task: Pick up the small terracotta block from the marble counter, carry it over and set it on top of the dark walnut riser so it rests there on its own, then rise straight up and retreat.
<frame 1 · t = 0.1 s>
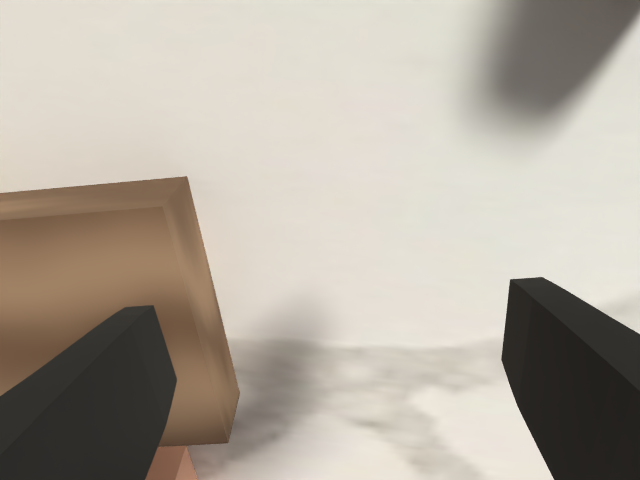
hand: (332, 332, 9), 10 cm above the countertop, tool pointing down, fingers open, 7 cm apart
walnut riser: (96, 302, 22), on the countertop
terracotta block: (158, 472, 27), on the countertop
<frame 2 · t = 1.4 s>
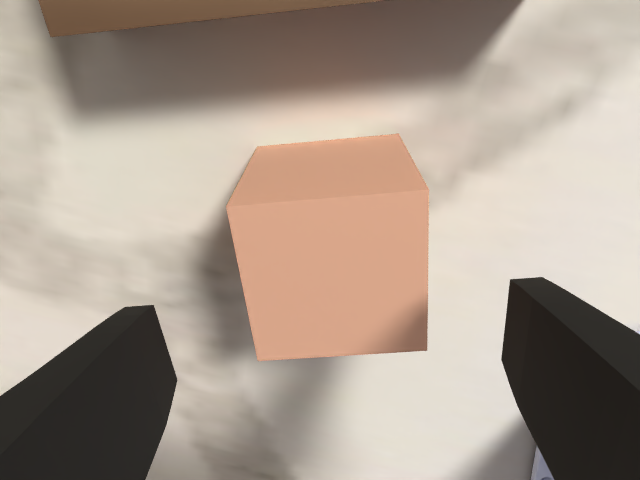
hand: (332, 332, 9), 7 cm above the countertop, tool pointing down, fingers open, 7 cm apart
terracotta block: (333, 204, 16), on the countertop
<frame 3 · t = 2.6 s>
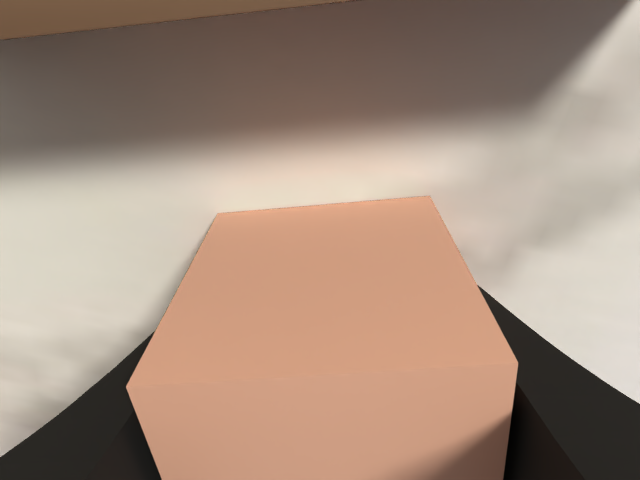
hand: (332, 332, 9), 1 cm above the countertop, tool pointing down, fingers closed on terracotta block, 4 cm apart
terracotta block: (331, 293, 11), on the countertop, touching gripper
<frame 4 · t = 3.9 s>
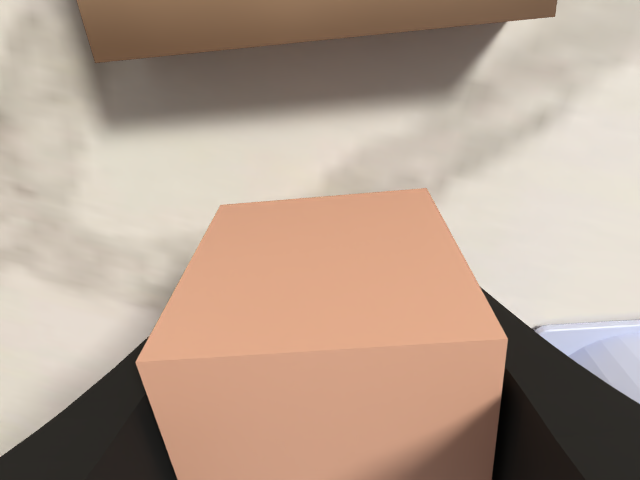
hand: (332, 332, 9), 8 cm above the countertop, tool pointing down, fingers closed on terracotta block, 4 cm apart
terracotta block: (330, 284, 11), point 7 cm above the countertop, touching gripper
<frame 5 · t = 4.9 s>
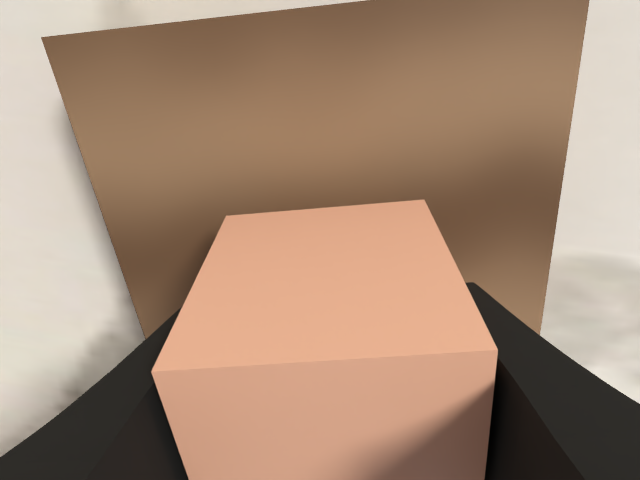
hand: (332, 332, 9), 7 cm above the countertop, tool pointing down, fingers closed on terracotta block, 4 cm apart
walnut riser: (331, 201, 16), on the countertop
terracotta block: (332, 290, 11), point 5 cm above the countertop, touching gripper
when the fingers open (6 cm above the countertop, at t = 5.4 s): terracotta block drops 1 cm, point 3 cm above the countertop.
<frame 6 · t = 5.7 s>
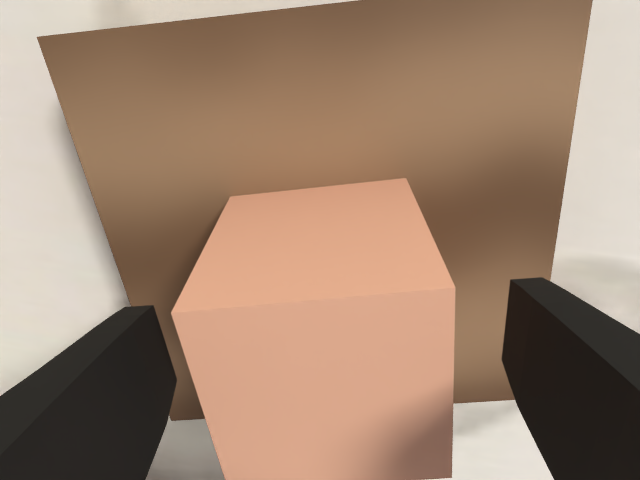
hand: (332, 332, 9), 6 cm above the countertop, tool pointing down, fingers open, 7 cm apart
walnut riser: (330, 202, 16), on the countertop
terracotta block: (326, 263, 13), point 3 cm above the countertop
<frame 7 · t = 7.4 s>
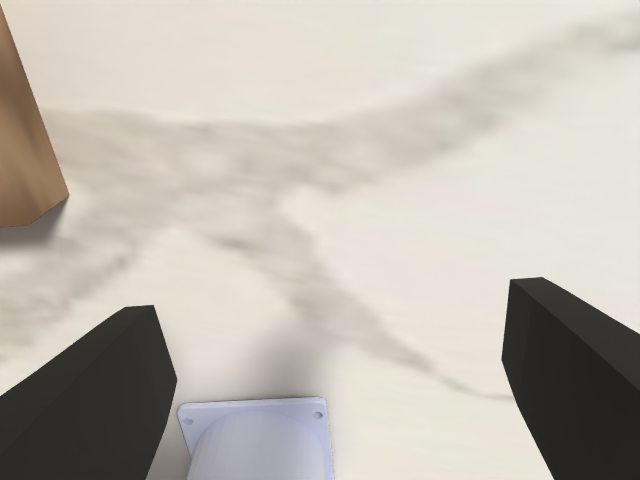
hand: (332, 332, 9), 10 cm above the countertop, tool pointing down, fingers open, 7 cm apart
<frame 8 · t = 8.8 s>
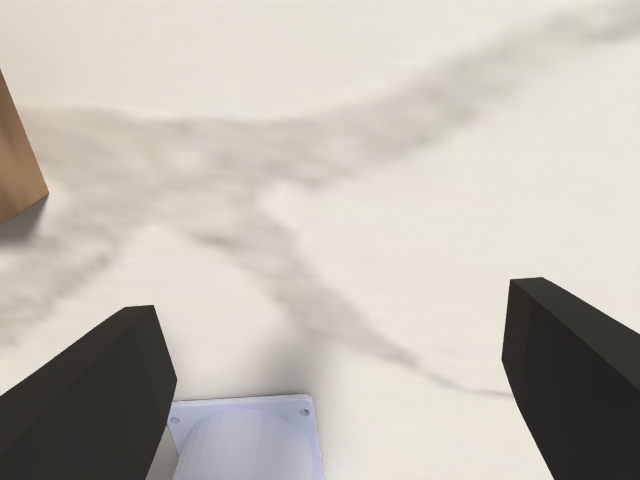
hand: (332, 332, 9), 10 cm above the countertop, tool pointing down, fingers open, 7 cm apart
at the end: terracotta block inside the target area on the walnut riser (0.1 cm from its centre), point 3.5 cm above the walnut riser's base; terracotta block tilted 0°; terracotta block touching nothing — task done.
